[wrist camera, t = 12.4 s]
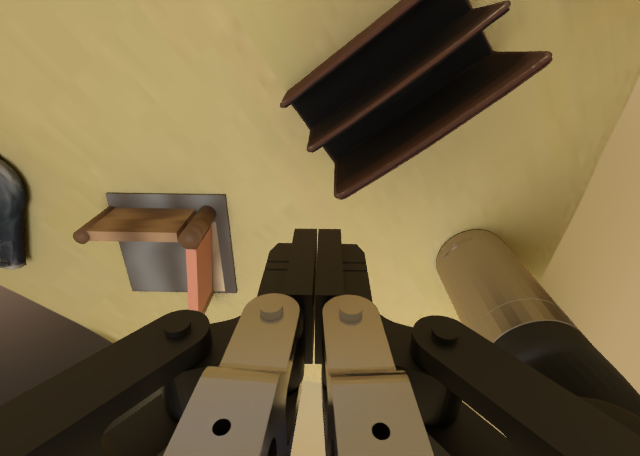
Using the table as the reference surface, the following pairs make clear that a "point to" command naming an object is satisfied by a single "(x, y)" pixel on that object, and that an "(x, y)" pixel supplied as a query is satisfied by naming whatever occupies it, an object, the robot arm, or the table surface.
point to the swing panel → (200, 274)
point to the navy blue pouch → (11, 218)
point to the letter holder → (406, 86)
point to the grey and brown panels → (165, 237)
